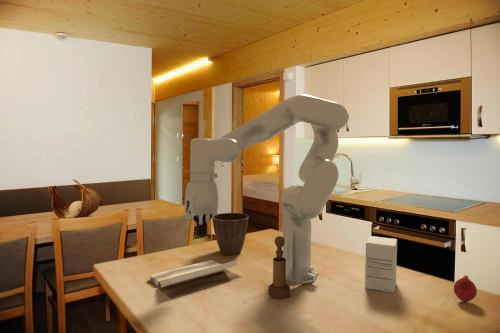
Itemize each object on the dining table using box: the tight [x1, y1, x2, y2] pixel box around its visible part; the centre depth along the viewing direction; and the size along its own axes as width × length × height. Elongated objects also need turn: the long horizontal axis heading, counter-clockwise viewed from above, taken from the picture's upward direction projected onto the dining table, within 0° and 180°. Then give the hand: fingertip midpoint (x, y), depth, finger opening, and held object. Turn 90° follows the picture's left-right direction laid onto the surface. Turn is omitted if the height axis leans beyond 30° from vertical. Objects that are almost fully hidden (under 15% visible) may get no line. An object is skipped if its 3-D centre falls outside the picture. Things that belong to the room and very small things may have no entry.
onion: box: [453, 274, 478, 303], centre depth 104 cm, size 6×6×8 cm
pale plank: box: [160, 260, 239, 287], centre depth 116 cm, size 9×24×2 cm, turn 129°
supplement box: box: [364, 235, 398, 294], centre depth 116 cm, size 9×9×15 cm
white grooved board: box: [147, 259, 242, 300], centre depth 119 cm, size 17×26×3 cm, turn 129°
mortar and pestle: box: [267, 235, 291, 300], centre depth 109 cm, size 7×6×18 cm
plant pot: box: [211, 212, 249, 256], centre depth 147 cm, size 15×15×16 cm
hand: (201, 235), depth 114 cm, fingers closed
